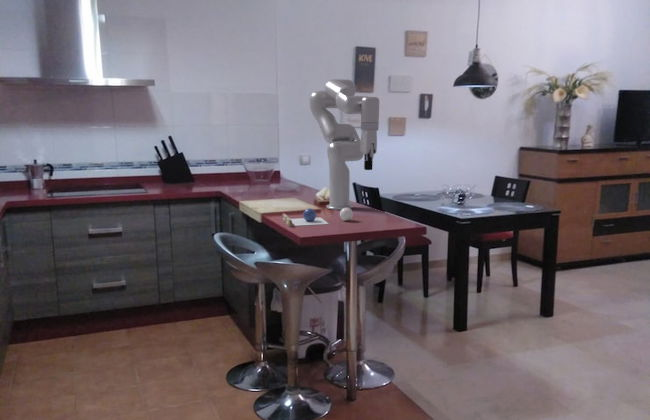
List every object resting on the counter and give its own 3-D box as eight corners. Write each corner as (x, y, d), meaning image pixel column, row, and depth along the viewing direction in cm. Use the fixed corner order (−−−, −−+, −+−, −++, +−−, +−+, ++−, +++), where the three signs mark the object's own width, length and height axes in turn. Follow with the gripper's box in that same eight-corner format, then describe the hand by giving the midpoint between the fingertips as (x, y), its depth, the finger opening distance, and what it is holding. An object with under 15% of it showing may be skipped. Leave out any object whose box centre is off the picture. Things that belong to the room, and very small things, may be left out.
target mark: (288, 219, 228) (288, 219, 227) (320, 217, 231) (320, 217, 231) (295, 226, 214) (295, 225, 214) (329, 224, 218) (329, 223, 218)
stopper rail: (282, 219, 228) (282, 213, 227) (284, 219, 228) (284, 213, 228) (289, 226, 213) (289, 220, 212) (292, 226, 213) (291, 220, 212)
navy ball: (310, 204, 225) (317, 215, 226) (299, 212, 225) (307, 222, 226) (312, 207, 219) (319, 217, 221) (301, 214, 219) (308, 225, 221)
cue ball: (346, 203, 225) (351, 213, 228) (335, 210, 225) (340, 220, 227) (352, 208, 221) (356, 218, 224) (341, 215, 220) (345, 225, 223)
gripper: (356, 125, 233) (355, 167, 237) (366, 127, 218) (364, 172, 222) (372, 125, 234) (371, 167, 238) (383, 127, 220) (381, 172, 224)
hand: (368, 169), depth 230 cm, fingers closed
